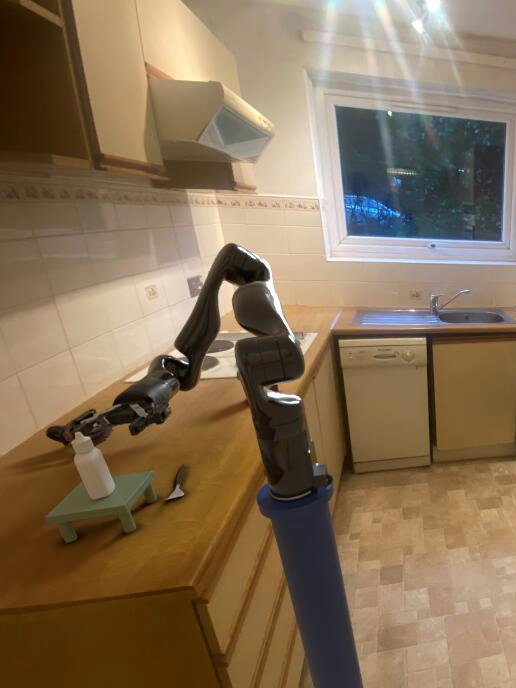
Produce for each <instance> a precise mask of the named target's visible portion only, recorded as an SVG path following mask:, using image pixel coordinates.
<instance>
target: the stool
mask: <svg viewBox="0 0 516 688" xmlns="http://www.w3.org/2000/svg"><path fill="white" fill-rule="evenodd" d="M111 477H112V479H113V482H114V484H115V489H114V491H113V492H112V493H111V494H110V495H109V496H107V497H104V498H100V499H97V500H92V499H91V498H90V496H89V494H88V492H87V490H86V488H85V485H84V483H83V481H81V482H80V483H79V484H78V485H77V486H75V487H74V488H73V489H72V490H71V491H70V492H69V493H68V494H67V495H66V496H65V497H64V498H63V499H62V500H61V501H60V502H59V503H57V505H56V506H54V507H53V508H52V509H51V510H50V511H49V513H48V514H46V515H45V516H44V519H45V521H46V523H47V525H48V526H49V525H50V526H52V525H56V526H57V528H58V531H59V532H60V535H61V537H62V539H63V541H64V542H65V543H66V544H67V543H68V544H69V543H72V542H74V541H76V540H77V539H78V538H79V537H78V535H77V533H76V531H75V528H74V526H73V524H72V522H77V521H83V520H89V519H96V518H102V517H109V516H118V519H119V521H120V523H121V526H122V528H123V531H124V533H125V534H129V533H132V532H134V531H136V530H137V525H136V522H135V520H134V518H133V515H132V512H131V509H132V507H134V505H135V503H136V502H137V501H138V500H139V498H140V497H141V496H142V495H143V496H144V498H145V500H146V503H147V504H152V503H156V501H158V497H157V494H156V491H155V488H154V486H153V483H152V482H153V481H154V480H155V478H156V476H155V474H154V471H153V470H147V471H138V472H132V473H126V474H125V473H124V474H117V475H111Z"/></svg>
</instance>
